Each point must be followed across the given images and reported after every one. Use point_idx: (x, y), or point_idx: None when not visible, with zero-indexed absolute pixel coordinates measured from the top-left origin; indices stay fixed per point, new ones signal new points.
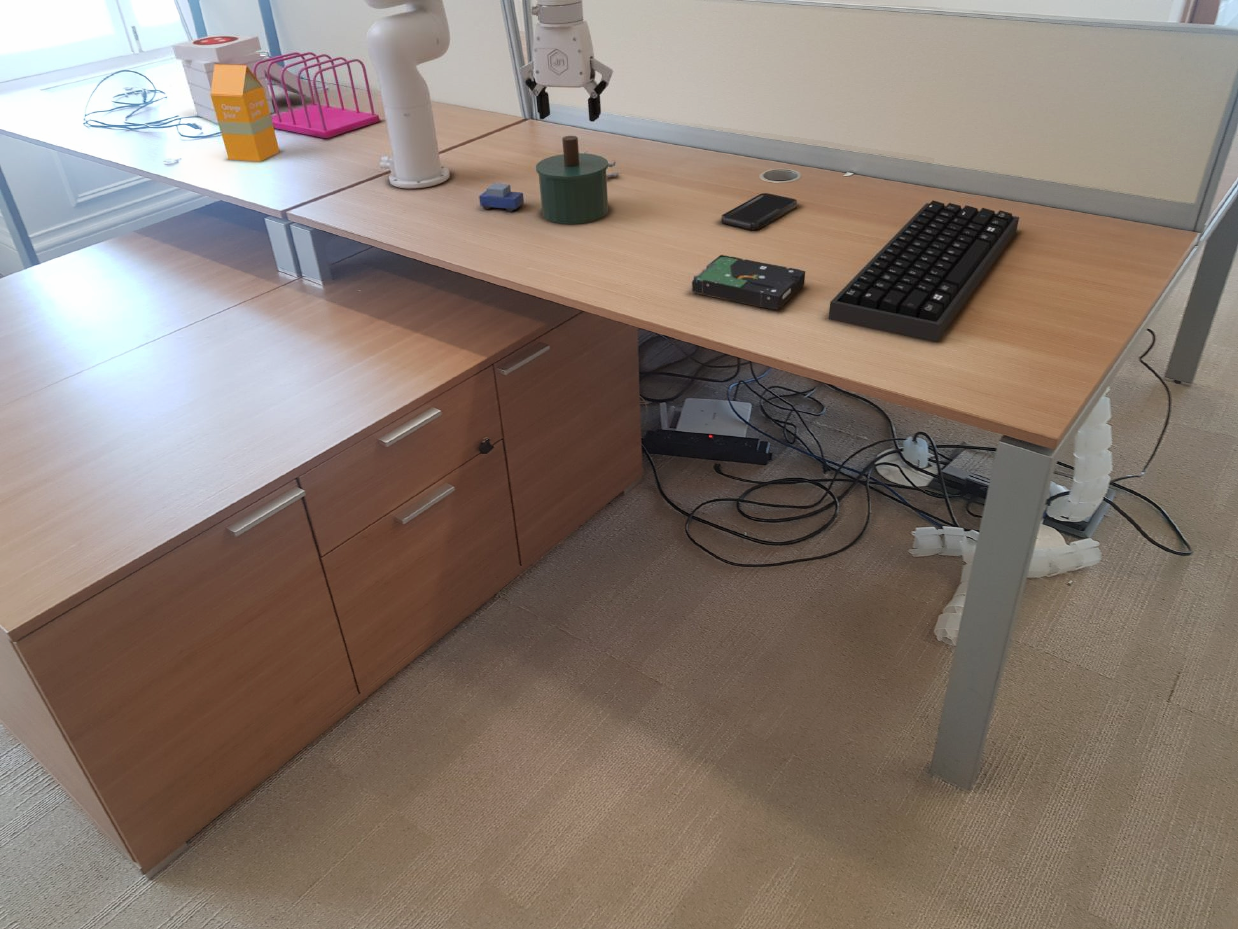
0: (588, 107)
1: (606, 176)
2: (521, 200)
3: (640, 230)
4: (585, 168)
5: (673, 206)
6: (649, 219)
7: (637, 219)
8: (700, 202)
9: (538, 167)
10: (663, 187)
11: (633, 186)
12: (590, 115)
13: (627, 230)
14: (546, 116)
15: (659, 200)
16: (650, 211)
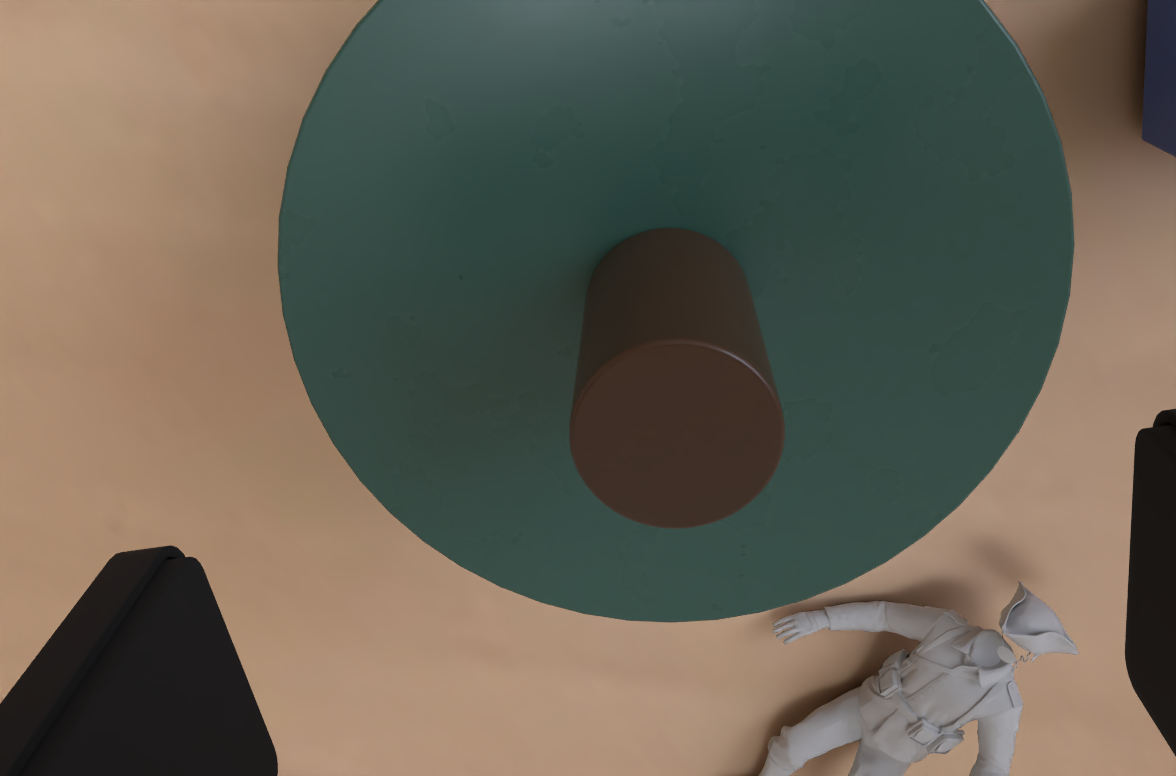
0: (81, 712)
1: (769, 749)
2: (1156, 104)
3: (5, 47)
4: (449, 241)
5: (120, 512)
6: (96, 261)
7: (167, 229)
8: (27, 618)
9: (988, 64)
10: (376, 742)
11: (553, 704)
12: (105, 598)
13: (84, 5)
14: (1134, 542)
15: (262, 566)
16: (188, 389)
